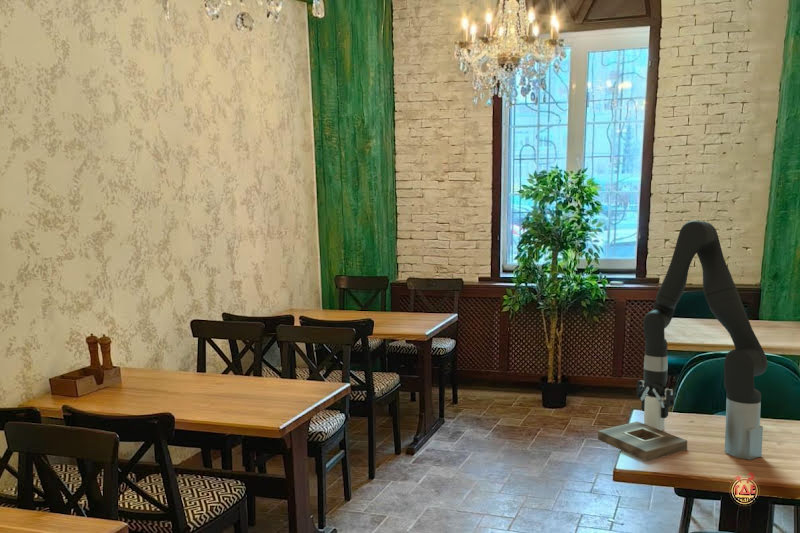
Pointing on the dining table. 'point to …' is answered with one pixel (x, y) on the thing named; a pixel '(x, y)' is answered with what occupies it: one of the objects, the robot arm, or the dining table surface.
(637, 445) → the socket board
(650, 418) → the can
